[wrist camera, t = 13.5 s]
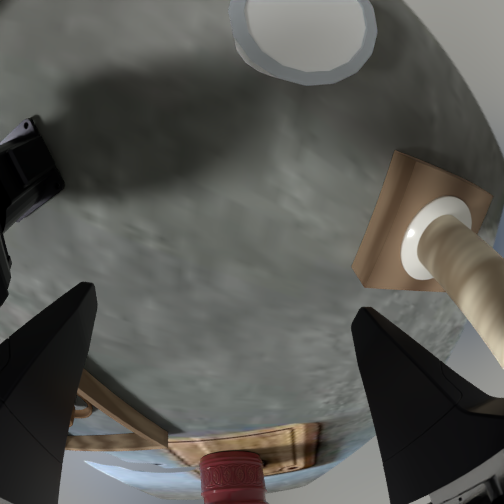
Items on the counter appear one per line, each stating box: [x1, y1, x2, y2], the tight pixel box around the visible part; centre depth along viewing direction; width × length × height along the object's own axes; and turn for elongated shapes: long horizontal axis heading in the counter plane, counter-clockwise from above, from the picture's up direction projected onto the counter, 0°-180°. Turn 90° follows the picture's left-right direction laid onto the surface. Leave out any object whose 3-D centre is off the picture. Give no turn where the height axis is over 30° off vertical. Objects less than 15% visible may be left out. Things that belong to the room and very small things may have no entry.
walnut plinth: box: [352, 150, 493, 292], centre depth 23 cm, size 11×11×3 cm
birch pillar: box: [417, 215, 504, 370], centre depth 16 cm, size 5×5×13 cm
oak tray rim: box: [65, 368, 168, 451], centre depth 33 cm, size 26×26×3 cm
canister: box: [199, 451, 269, 504], centre depth 43 cm, size 13×13×18 cm
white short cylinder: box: [228, 0, 378, 86], centre depth 12 cm, size 7×7×7 cm
